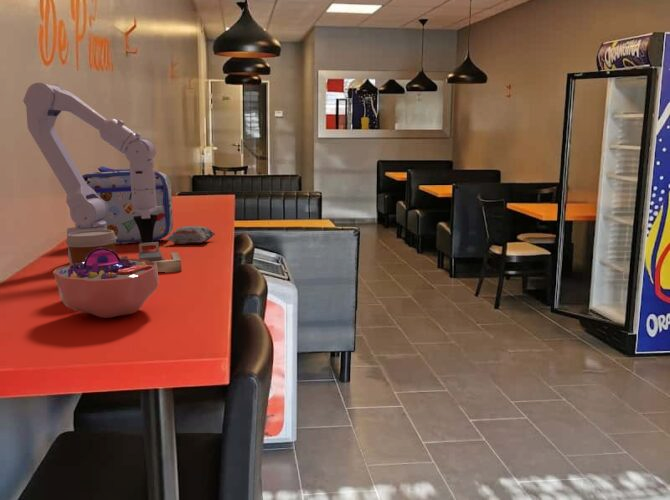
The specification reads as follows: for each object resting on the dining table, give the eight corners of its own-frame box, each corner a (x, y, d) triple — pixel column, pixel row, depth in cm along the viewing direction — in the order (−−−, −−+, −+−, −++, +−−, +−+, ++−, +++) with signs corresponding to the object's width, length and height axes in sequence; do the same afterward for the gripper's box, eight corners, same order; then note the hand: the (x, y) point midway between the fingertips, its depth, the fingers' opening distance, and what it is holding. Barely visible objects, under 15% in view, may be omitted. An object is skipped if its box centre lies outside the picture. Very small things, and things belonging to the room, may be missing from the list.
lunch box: (72, 247, 199) (64, 169, 196) (84, 241, 210) (76, 167, 206) (170, 243, 200) (164, 165, 197) (177, 237, 210) (172, 163, 207)
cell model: (61, 336, 110) (53, 264, 108) (55, 308, 128) (49, 247, 126) (171, 321, 116) (165, 253, 114) (151, 297, 134) (146, 238, 133)
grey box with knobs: (136, 273, 158) (134, 249, 157) (136, 266, 167) (134, 243, 166) (166, 270, 160) (164, 247, 159) (164, 263, 168) (162, 241, 167)
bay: (121, 276, 155) (120, 265, 155) (121, 267, 166) (120, 256, 166) (181, 271, 159) (180, 260, 158) (178, 262, 170) (177, 252, 169)
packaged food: (205, 246, 194) (204, 228, 193) (164, 246, 196) (163, 228, 195) (216, 241, 202) (215, 224, 201) (177, 242, 204) (175, 225, 203)
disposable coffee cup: (74, 301, 133) (68, 238, 131) (68, 292, 141) (61, 232, 139) (126, 294, 137) (120, 233, 135) (116, 285, 146) (111, 227, 144)
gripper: (161, 190, 166) (165, 248, 168) (159, 186, 180) (162, 239, 182) (130, 192, 164) (134, 250, 166) (130, 187, 178) (134, 241, 180)
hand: (147, 244), depth 174 cm, fingers closed
